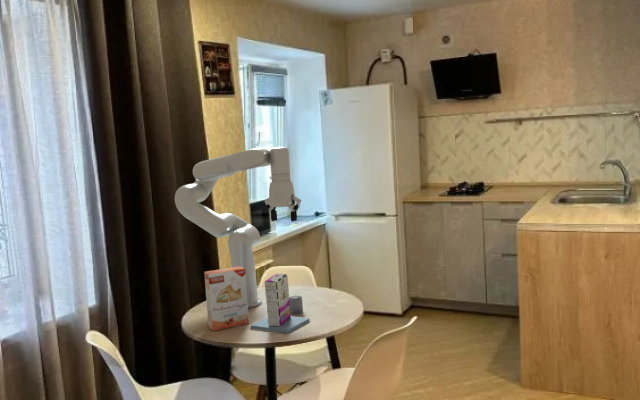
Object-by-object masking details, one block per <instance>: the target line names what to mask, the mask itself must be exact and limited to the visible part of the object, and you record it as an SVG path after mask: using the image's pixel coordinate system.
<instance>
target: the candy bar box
mask: <svg viewBox="0 0 640 400" xmlns="http://www.w3.org/2000/svg"><path fill="white" fill-rule="evenodd" d="M264 289H265V299H266V301H265V302H266V311H267V317H268V324H269V326H282V325H283V324H284V323H285V322H286V321H287V320H288V319H289V318H290V317H291V316H292V314H291V312H290V301H289V297H290V290H289V279H288V273H275V274H273V275H272V276H271V277H269V278H267V279H266V280H264Z"/></svg>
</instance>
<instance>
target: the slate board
mask: <svg viewBox="0 0 640 400" xmlns="http://www.w3.org/2000/svg"><path fill="white" fill-rule="evenodd" d="M310 322H311V321H310V318H309V317H308V318H307V317H301V316H294V315H293V316H292V315H291V317H290V318H289V319H288V320H287V321H286V322H285V323H284V324H283V325H282V326H269V324H268V316H266V317H264V318H262V319H261V320H259V321H257V322H255V323H252V324H250V329H251V330H257V331H258V330H259V331H265V332H273V333H279V334H290V333H292V332H294V331H295V330H297V329H299V328H300V327H302V326H304V325H306V324H308V323H310Z"/></svg>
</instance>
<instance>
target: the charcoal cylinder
mask: <svg viewBox="0 0 640 400" xmlns="http://www.w3.org/2000/svg"><path fill="white" fill-rule="evenodd" d="M289 301H290V312H291V315H293V316H295V315H301V314H303V313H304V307H303V296H302V295H293V296H289Z"/></svg>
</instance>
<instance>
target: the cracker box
mask: <svg viewBox="0 0 640 400" xmlns="http://www.w3.org/2000/svg"><path fill="white" fill-rule="evenodd" d="M203 274H204V285H205V298H206V309H207V310H206V311H207V323H208V327H209V329H210V330H211V331H213V332H214V331H220V330H223V329H228V328H233V327H237V326H244V325H248V324H249V323H250V319H249V318H250V317H249V308H248V301H247V286H246V272H245V269H244V268H242V267H240V266H239V267H232V266H231V267H227V268H220V269H215V270H207V271H204V273H203Z"/></svg>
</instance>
